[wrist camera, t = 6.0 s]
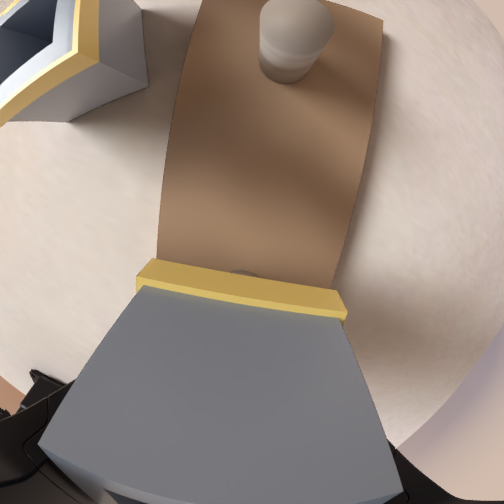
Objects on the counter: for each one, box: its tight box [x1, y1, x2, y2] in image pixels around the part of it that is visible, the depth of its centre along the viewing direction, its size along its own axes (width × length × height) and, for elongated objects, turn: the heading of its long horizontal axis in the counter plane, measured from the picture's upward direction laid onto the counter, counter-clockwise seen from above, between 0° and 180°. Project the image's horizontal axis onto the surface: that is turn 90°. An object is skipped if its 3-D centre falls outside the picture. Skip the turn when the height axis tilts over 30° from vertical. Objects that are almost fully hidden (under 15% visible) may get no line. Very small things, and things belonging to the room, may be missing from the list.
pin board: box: [156, 0, 383, 289], centre depth 9 cm, size 18×8×5 cm, turn 170°
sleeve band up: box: [0, 0, 149, 127], centre depth 6 cm, size 5×5×6 cm
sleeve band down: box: [38, 258, 403, 504], centre depth 6 cm, size 5×5×6 cm
